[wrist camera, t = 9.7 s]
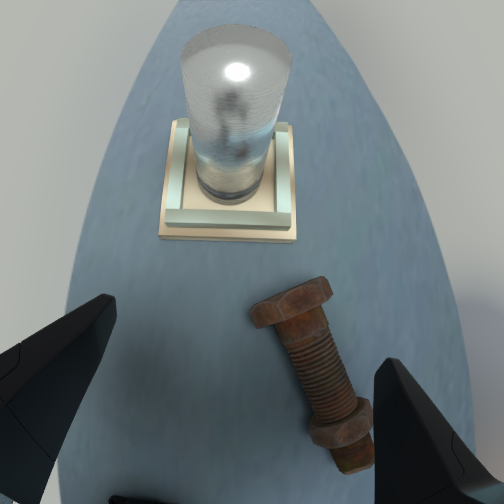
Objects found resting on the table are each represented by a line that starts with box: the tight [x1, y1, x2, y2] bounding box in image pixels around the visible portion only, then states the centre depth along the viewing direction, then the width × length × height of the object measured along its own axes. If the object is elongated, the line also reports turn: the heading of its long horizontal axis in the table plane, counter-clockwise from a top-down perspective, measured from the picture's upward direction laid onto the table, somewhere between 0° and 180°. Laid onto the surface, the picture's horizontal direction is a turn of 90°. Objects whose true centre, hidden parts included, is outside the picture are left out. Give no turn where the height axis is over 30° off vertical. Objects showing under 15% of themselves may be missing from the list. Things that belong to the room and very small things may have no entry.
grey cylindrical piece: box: [181, 24, 292, 206], centre depth 18 cm, size 5×5×12 cm
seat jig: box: [159, 118, 296, 243], centre depth 24 cm, size 10×10×2 cm
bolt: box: [250, 276, 375, 475], centre depth 20 cm, size 6×5×15 cm
